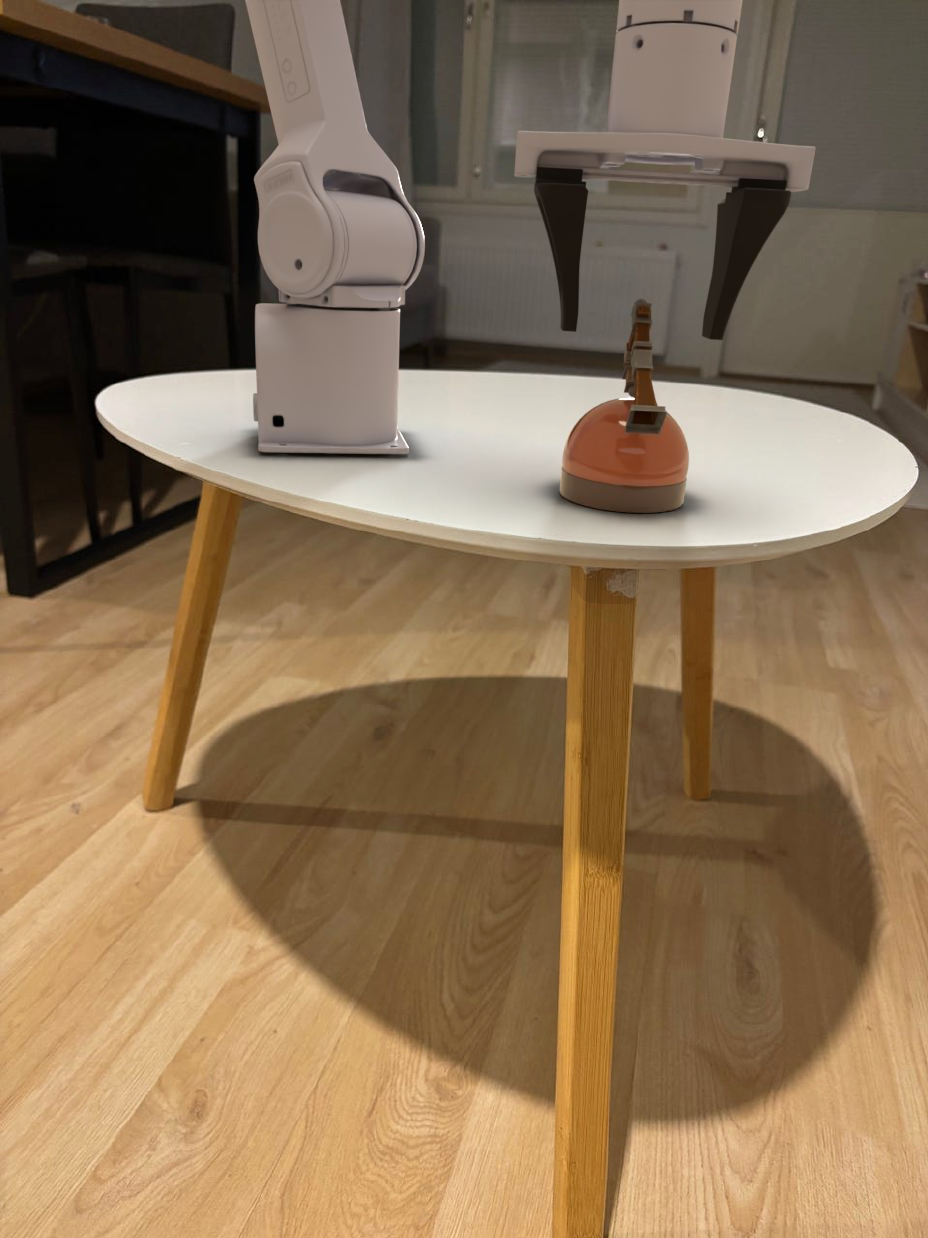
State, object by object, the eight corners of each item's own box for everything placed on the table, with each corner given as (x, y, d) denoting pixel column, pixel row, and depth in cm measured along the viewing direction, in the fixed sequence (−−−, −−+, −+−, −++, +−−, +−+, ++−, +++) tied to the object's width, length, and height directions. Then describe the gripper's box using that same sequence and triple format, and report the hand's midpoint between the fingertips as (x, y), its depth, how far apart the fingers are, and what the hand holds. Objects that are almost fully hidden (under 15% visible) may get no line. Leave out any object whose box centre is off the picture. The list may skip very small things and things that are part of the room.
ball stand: (576, 540, 49) (590, 407, 46) (543, 505, 55) (553, 387, 52) (699, 540, 50) (719, 411, 47) (653, 505, 56) (668, 390, 54)
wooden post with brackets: (643, 349, 52) (660, 289, 48) (649, 464, 49) (668, 409, 45) (612, 348, 52) (626, 287, 48) (615, 462, 49) (631, 407, 45)
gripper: (802, 61, 47) (756, 335, 52) (521, 46, 47) (504, 320, 52) (851, 30, 40) (793, 347, 46) (525, 13, 41) (504, 330, 46)
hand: (640, 334), depth 49 cm, fingers open, 7 cm apart
